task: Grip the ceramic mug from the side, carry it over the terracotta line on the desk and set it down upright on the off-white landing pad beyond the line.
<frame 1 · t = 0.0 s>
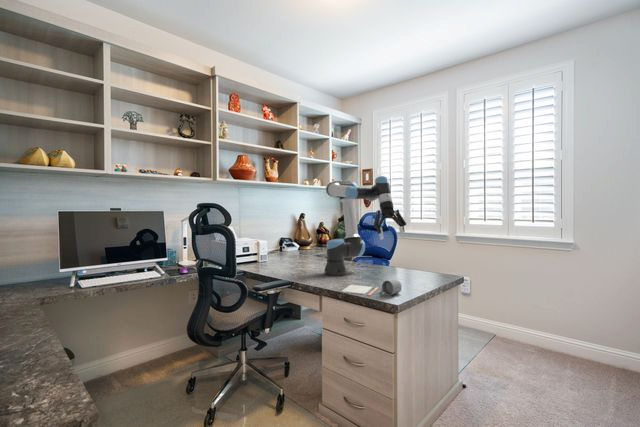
hand: (392, 238, 181), 28 cm above the table, tool tilted 20°, fingers open, 13 cm apart
ceramic mug: (389, 294, 172), on the table
landing pad: (357, 289, 180), on the table
throw line: (373, 291, 176), on the table
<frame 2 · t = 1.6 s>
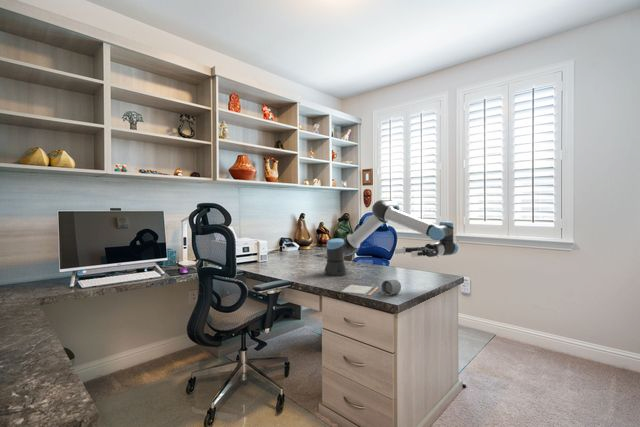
hand: (403, 252, 176), 21 cm above the table, tool horizontal, fingers open, 13 cm apart
nothing on the table moved.
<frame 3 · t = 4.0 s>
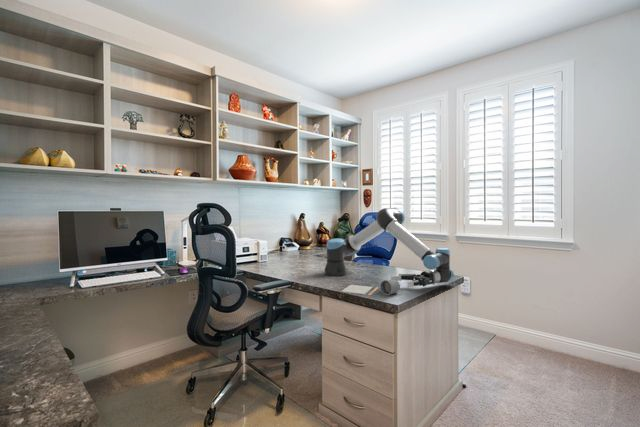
hand: (399, 281, 174), 6 cm above the table, tool horizontal, fingers open, 13 cm apart
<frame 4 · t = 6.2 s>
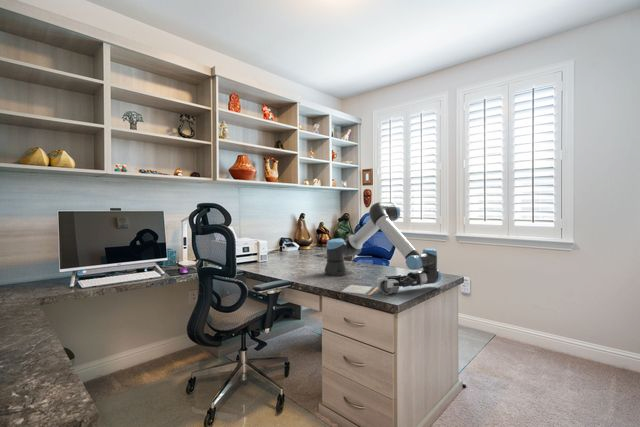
hand: (382, 283, 170), 6 cm above the table, tool horizontal, fingers closed on ceramic mug, 8 cm apart
ceramic mug: (387, 293, 173), on the table, touching gripper
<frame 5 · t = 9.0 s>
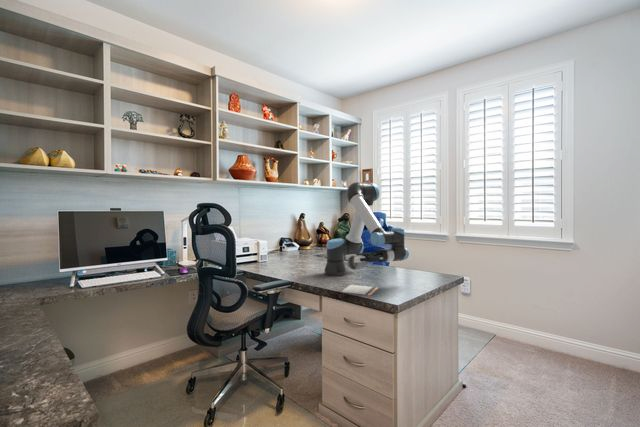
hand: (350, 258, 178), 18 cm above the table, tool horizontal, fingers closed on ceramic mug, 8 cm apart
ceramic mug: (355, 269, 181), point 11 cm above the table, touching gripper
when the fingers open (8 cm above the table, at t = 11.9 s): ceramic mug drops 1 cm, resting on landing pad.
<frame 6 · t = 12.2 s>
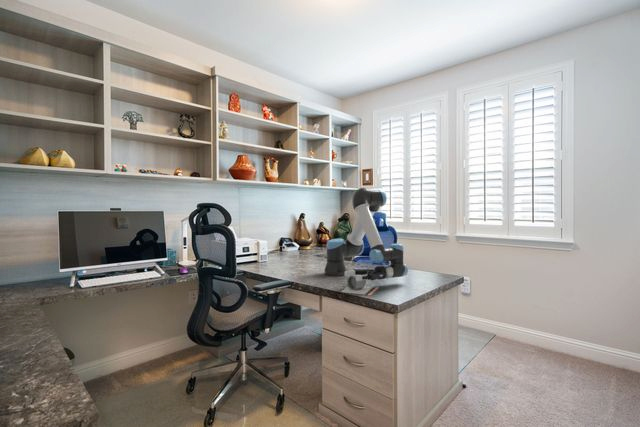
hand: (350, 276, 179), 8 cm above the table, tool horizontal, fingers open, 11 cm apart
ceramic mug: (354, 288, 182), resting on landing pad
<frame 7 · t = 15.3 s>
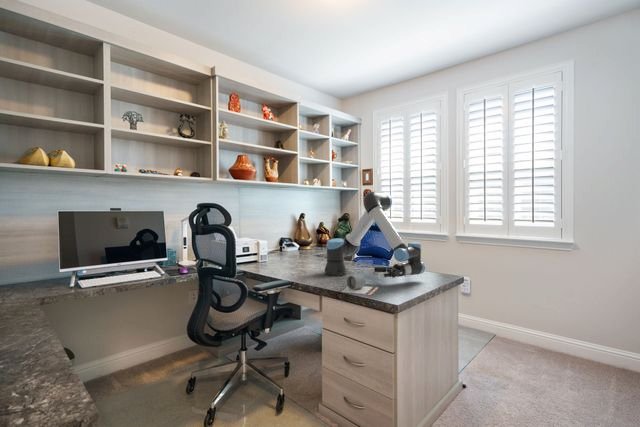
hand: (371, 273, 184), 8 cm above the table, tool horizontal, fingers open, 13 cm apart
nothing on the table moved.
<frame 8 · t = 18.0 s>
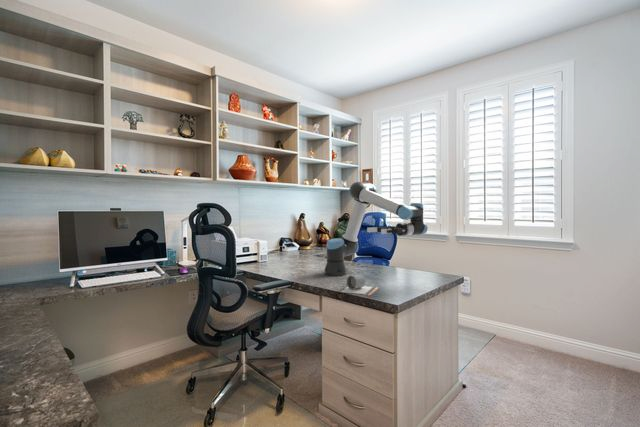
hand: (374, 230, 186), 32 cm above the table, tool horizontal, fingers open, 13 cm apart
nothing on the table moved.
at the end: ceramic mug inside the target area (1.2 cm from its centre), resting on landing pad; ceramic mug tilted 0°; the gripper is holding nothing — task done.
